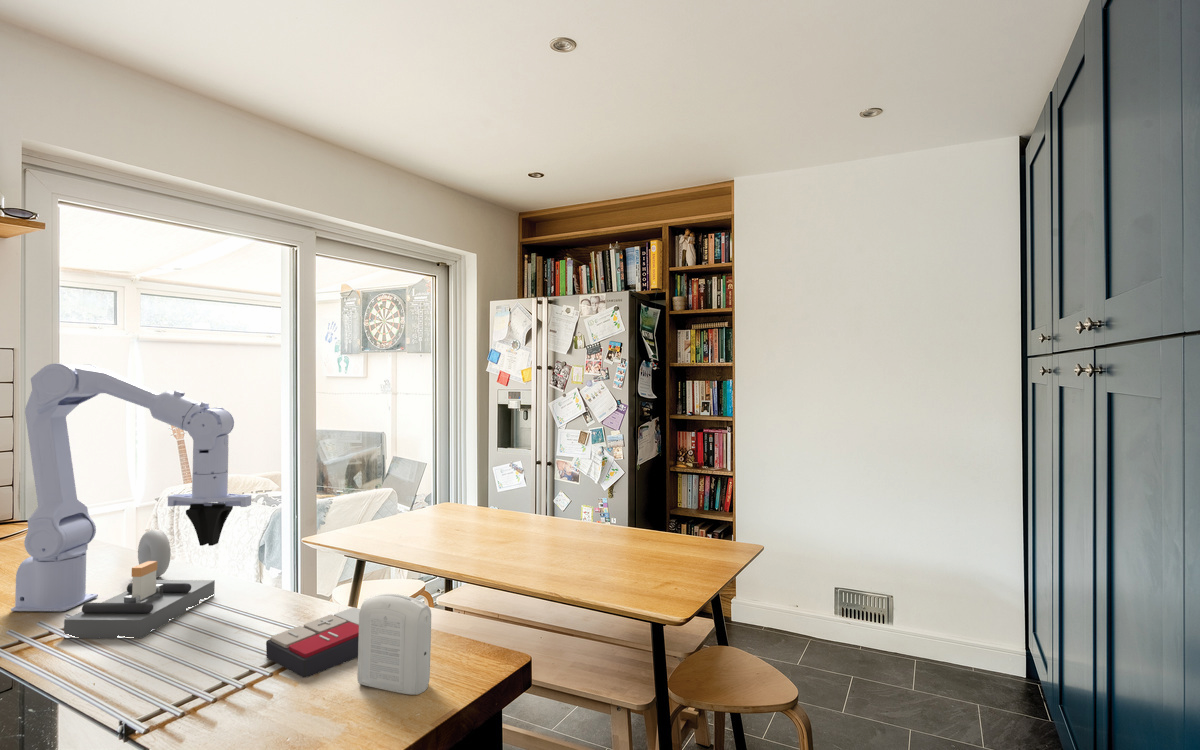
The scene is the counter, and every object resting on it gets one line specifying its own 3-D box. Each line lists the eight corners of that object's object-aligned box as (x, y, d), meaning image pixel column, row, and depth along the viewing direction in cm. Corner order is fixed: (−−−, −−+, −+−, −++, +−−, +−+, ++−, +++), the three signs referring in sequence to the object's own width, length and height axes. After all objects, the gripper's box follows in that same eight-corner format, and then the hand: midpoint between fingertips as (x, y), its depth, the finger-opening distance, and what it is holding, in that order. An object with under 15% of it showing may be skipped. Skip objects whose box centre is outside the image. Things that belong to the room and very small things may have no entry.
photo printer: (435, 684, 87) (436, 594, 87) (417, 699, 83) (418, 605, 83) (372, 672, 90) (373, 586, 90) (352, 686, 86) (353, 596, 86)
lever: (131, 603, 106) (131, 567, 106) (147, 595, 110) (148, 561, 110) (140, 603, 106) (141, 567, 106) (156, 595, 110) (157, 561, 110)
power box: (63, 638, 100) (64, 607, 100) (150, 595, 120) (151, 569, 120) (140, 638, 100) (140, 607, 100) (214, 595, 120) (214, 569, 120)
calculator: (264, 635, 94) (354, 602, 106) (265, 664, 94) (355, 627, 107) (303, 655, 88) (394, 617, 100) (304, 685, 88) (395, 644, 100)
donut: (173, 579, 129) (174, 531, 130) (154, 584, 127) (155, 534, 127) (153, 571, 135) (154, 524, 135) (134, 574, 132) (135, 527, 132)
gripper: (157, 475, 114) (155, 549, 114) (237, 475, 115) (236, 550, 115) (182, 469, 121) (180, 539, 121) (257, 470, 122) (256, 540, 122)
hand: (209, 544), depth 118 cm, fingers closed
